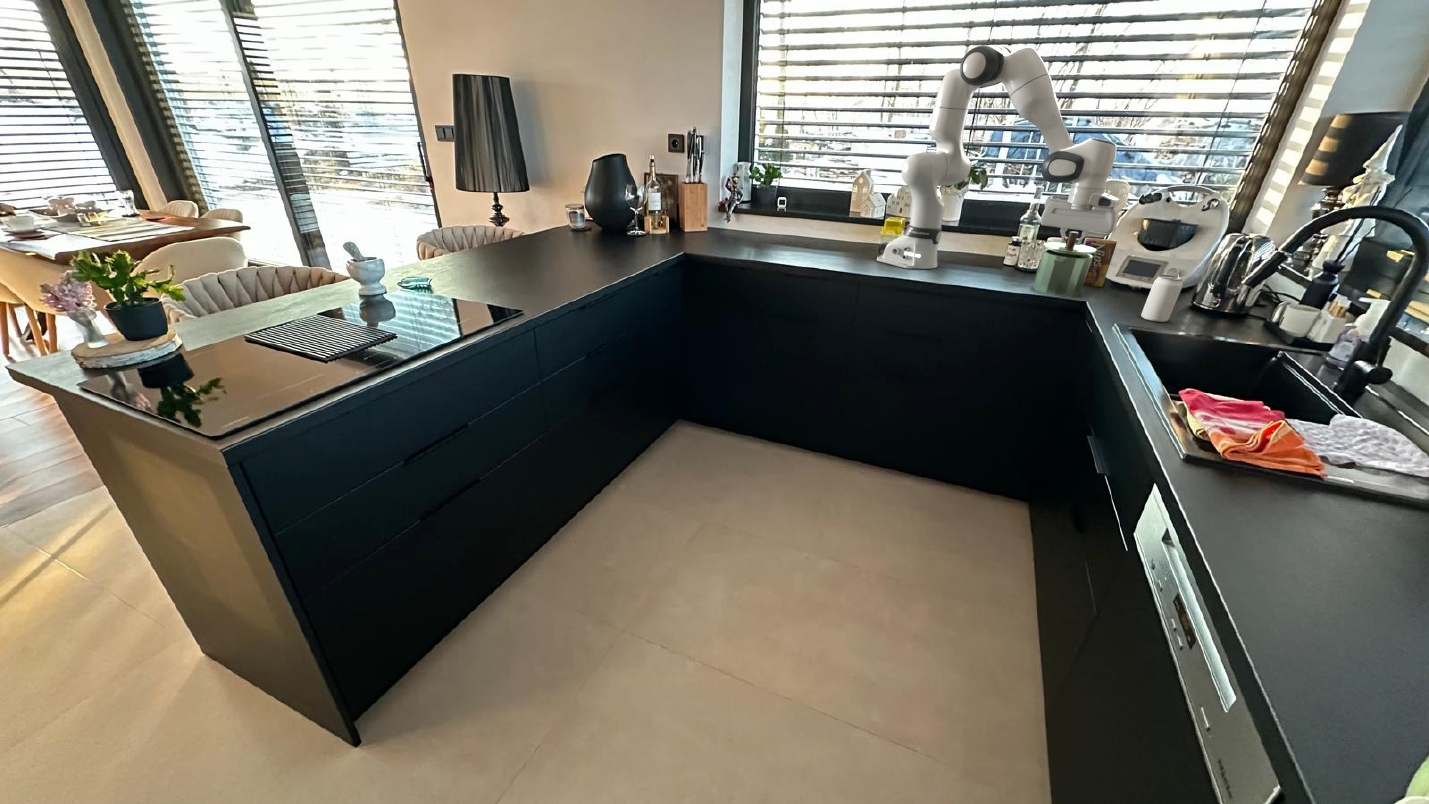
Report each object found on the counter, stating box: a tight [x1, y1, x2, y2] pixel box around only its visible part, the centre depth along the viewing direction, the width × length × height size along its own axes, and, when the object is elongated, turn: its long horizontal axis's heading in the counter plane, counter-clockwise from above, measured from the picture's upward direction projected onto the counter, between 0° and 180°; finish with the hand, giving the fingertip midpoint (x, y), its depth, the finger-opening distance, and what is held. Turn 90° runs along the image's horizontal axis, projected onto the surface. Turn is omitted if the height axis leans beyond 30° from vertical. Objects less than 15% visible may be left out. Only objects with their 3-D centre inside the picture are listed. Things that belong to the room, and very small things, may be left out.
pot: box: [1032, 248, 1093, 298], centre depth 179 cm, size 14×19×12 cm
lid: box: [1042, 231, 1096, 255], centre depth 174 cm, size 15×15×6 cm
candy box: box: [1082, 237, 1118, 287], centre depth 187 cm, size 9×4×15 cm, turn 65°
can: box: [1140, 274, 1184, 323], centre depth 156 cm, size 6×6×12 cm
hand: (1070, 244), depth 174 cm, fingers closed on lid, 2 cm apart
